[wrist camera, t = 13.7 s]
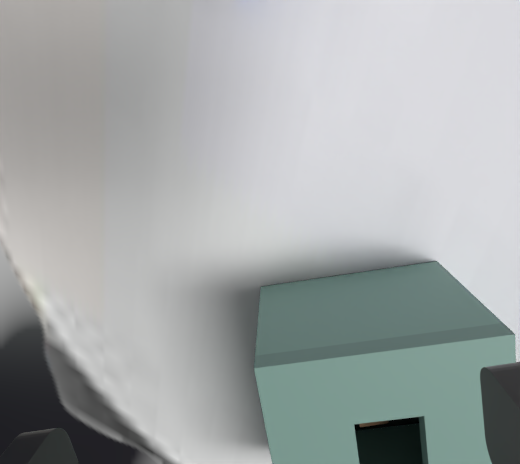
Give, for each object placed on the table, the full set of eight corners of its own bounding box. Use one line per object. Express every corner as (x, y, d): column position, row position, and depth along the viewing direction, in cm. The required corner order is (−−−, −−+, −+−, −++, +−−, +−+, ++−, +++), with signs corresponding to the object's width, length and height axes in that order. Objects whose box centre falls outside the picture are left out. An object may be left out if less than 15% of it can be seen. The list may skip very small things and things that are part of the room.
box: (436, 261, 40) (515, 334, 27) (448, 429, 44) (520, 562, 31) (260, 286, 41) (253, 368, 28) (290, 448, 46) (295, 582, 33)
